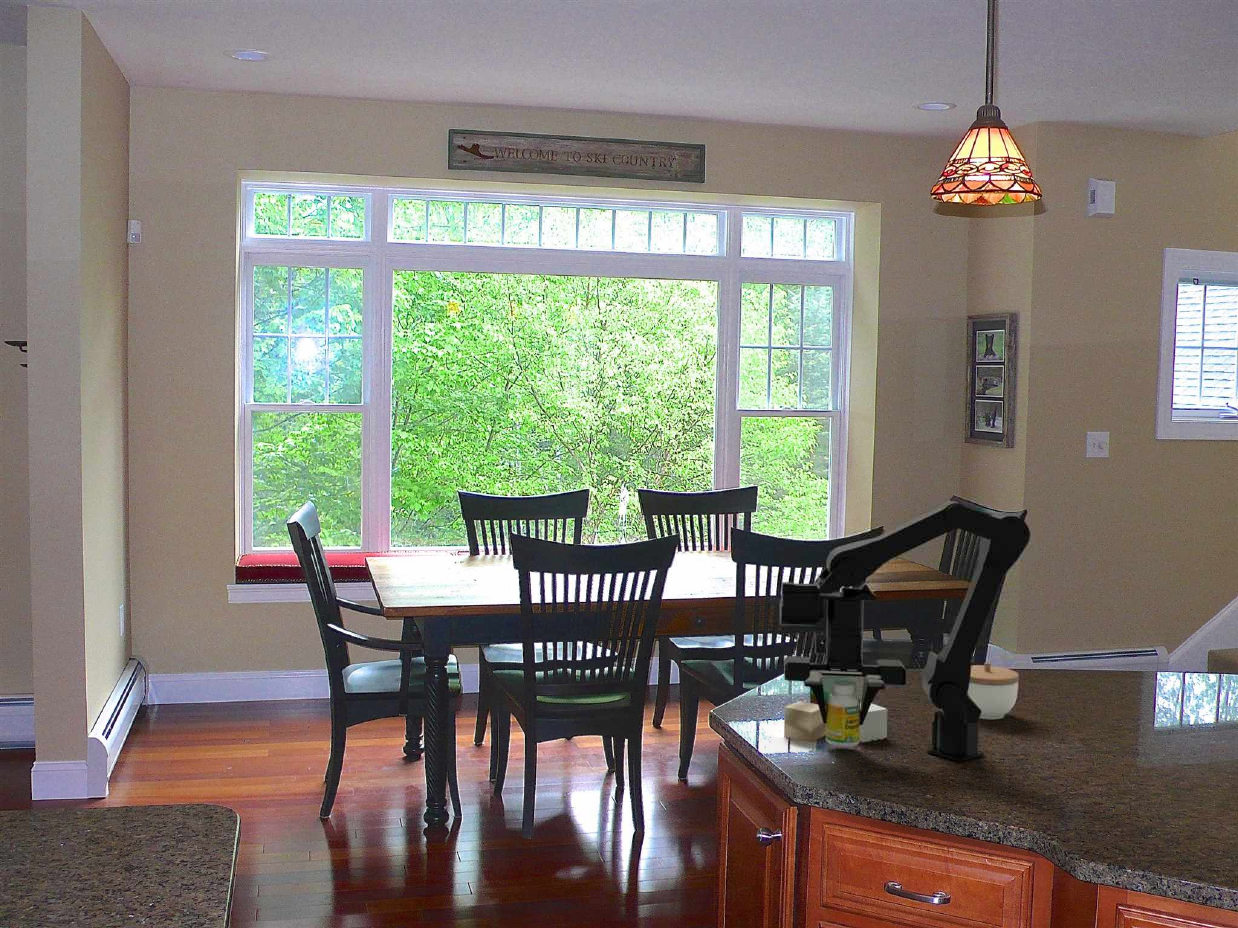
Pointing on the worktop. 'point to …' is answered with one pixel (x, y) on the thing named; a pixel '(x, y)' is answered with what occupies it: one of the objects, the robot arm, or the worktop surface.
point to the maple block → (803, 722)
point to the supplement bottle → (843, 714)
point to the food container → (829, 684)
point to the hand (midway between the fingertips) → (842, 723)
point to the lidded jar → (993, 690)
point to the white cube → (874, 724)
